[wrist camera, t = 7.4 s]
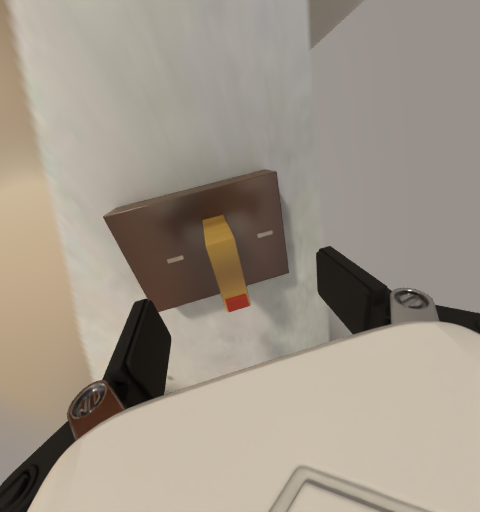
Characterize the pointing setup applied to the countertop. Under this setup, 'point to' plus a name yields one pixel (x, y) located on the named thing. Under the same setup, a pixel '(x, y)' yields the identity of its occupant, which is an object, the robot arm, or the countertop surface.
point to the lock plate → (201, 237)
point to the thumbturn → (225, 263)
